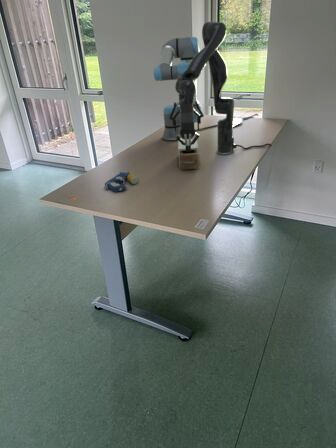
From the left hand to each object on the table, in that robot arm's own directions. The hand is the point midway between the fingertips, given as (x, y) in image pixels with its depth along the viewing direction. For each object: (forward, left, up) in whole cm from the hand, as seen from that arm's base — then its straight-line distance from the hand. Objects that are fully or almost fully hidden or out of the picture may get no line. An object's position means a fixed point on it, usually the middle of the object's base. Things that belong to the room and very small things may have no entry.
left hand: (187, 130), depth 201 cm
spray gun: (+49, +12, -18) cm, 54 cm away
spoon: (-63, -35, -18) cm, 74 cm away
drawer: (+8, +13, -17) cm, 23 cm away
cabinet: (+2, +4, -18) cm, 18 cm away
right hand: (+12, +21, -5) cm, 24 cm away
